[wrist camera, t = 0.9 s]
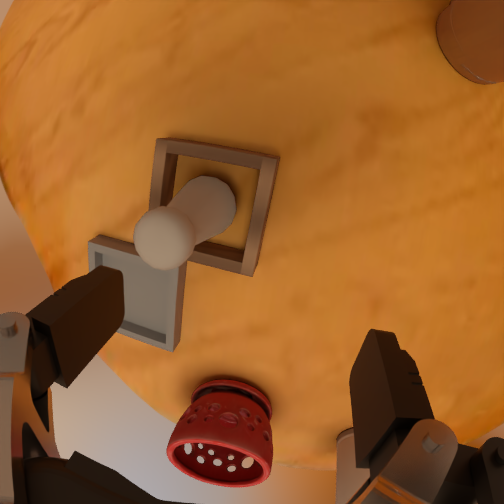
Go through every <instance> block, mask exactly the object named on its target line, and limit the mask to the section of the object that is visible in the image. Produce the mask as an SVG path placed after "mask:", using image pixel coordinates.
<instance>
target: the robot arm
mask: <svg viewBox="0 0 504 504" xmlns="http://www.w3.org/2000/svg"><path fill="white" fill-rule="evenodd" d="M436 31H437V38H438V41H439V44H440V47H441V49H442V51H443V53H444V55H445V56H446V58H447V59H448V61H449V62H450V64H451V65H452V66H453V67H454V68H455V69H456V70H457V71H458V72H459V73H460V74H461V75H463V76H464V77H466V78H467V79H469V80H470V81H473V82H476V83H478V84H484V85H485V84H494V83H499V82H504V0H451V3H450V6H448V7H447V8H446V9H445V10H444V11H443V12H442V13H441V14H440V15H439V18H438V20H437V27H436ZM124 315H125V303H124V278H123V273H122V272H121V271H120V270H117V269H114V268H110V267H107V266H103V265H99V266H98V267H96V268H95V269H94V270H92V271H91V272H89V273H88V274H87V275H84V276H81V277H78V278H76V279H73V280H71V281H69V282H68V283H67V284H65V285H64V286H63V287H62V289H59V290H57V291H56V292H55V293H54V295H50V296H49V297H48V298H47V299H45V300H44V301H43V302H41V303H40V304H39V305H37V306H36V307H35V308H33V309H32V310H31V311H30V312H29V313H27V314H26V315H24V314H22V313H18V312H7V313H3V314H0V504H194V503H181V502H171V501H163V500H159V499H157V498H155V497H153V496H151V495H150V494H148V493H147V492H145V491H144V490H142V489H141V488H139V487H138V486H136V485H135V484H133V483H132V482H131V481H129V480H128V479H126V478H125V477H124V476H122V475H121V474H119V473H118V472H117V471H115V470H113V469H111V468H109V467H107V466H104V465H102V464H100V463H98V462H96V461H94V460H92V459H90V458H88V457H86V456H84V455H82V454H80V453H78V452H77V451H74V453H73V455H72V456H71V457H70V459H69V460H68V459H62V458H60V455H59V452H58V450H57V446H56V443H55V437H54V425H53V410H52V392H51V389H50V386H51V385H52V384H53V382H56V383H58V384H60V385H61V386H63V387H65V388H68V387H69V386H70V384H71V383H72V382H73V381H74V379H75V378H76V377H77V376H78V375H79V374H80V373H81V371H82V370H83V369H84V368H85V367H86V366H87V364H88V363H89V362H90V361H91V360H92V359H93V357H94V356H95V355H96V354H97V353H98V352H99V350H100V349H101V348H102V347H103V346H104V345H105V344H106V342H107V341H108V340H109V339H110V338H111V337H112V336H113V334H114V333H115V332H116V331H117V330H118V329H119V328H120V326H121V324H122V322H123V319H124ZM422 384H423V382H422V379H421V377H420V376H419V371H418V368H417V366H416V363H415V361H414V360H413V359H412V357H411V356H410V355H409V354H408V353H407V352H406V350H401V349H400V347H399V344H398V341H397V338H396V335H395V334H394V333H393V332H388V331H382V330H376V329H371V330H369V332H368V334H367V336H366V338H365V340H364V343H363V345H362V347H361V349H360V352H359V354H358V356H357V358H356V360H355V363H354V365H353V367H352V370H351V374H350V381H349V386H350V395H351V406H352V417H353V429H354V443H355V460H356V468H363V469H370V477H369V478H368V479H367V480H366V481H365V482H364V483H363V484H362V486H361V487H360V488H359V489H358V490H357V491H356V493H355V494H354V495H353V496H352V497H351V498H350V499H349V501H348V502H347V503H346V504H477V503H478V504H504V439H502V438H498V437H493V438H490V439H488V440H487V441H486V442H485V443H484V444H483V445H482V446H481V447H480V448H479V449H478V448H474V447H470V446H466V445H462V444H459V443H458V442H457V438H456V436H455V434H454V432H453V431H452V430H451V429H450V428H449V427H448V426H447V425H446V424H444V423H442V422H440V421H438V420H435V418H434V415H433V412H432V409H431V406H430V403H429V400H428V397H427V394H426V391H425V388H424V386H422Z"/></svg>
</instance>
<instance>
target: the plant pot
mask: <svg viewBox="0 0 504 504" xmlns="http://www.w3.org/2000/svg"><path fill="white" fill-rule="evenodd" d="M271 417H272V408H271V405H270V403H269V401H268V399H267V398H266V397H265V396H264V395H263V394H262V393H261V392H260V391H258V390H257V389H255V388H254V387H252V386H249V385H247V384H245V383H242V382H238V381H233V380H214V381H210V382H207V383H204V384H202V385H201V386H199V387H198V388H197V389H196V390H195V391H194V392H193V394H192V397H191V405H190V406H189V407H188V409H187V410H186V411H185V412H184V414H183V415H182V416H181V418H180V419H179V421H178V423H177V425H176V427H175V429H174V431H173V433H172V435H171V437H170V440H169V443H168V446H167V456H168V458H169V460H170V461H171V463H172V464H173V465H174V466H175V467H176V468H178V469H179V470H180V471H182V472H183V473H185V474H187V475H189V476H190V477H193V478H195V479H197V480H200V481H203V482H206V483H210V484H213V485H218V486H224V487H248V486H253V485H257V484H260V483H262V482H263V481H264V480H266V479H267V478H268V477H269V475H270V472H271V466H272V459H273V444H272V430H271V426H270V423H269V422H270V420H271ZM186 443H191V445H192V451H191V453H190V454H186V453H185V450H184V444H186ZM199 443H201V444H202V445H203V448H202V449H200V448H199V447H198V444H199ZM208 450H213V451H214V455H210V454H208ZM230 455H233V456H234V459H233V460H228V456H230ZM198 456H201V457H203V458H204V463H199V462H198V461H197V457H198ZM246 457H252V458H253V459H254V463H253V464H252V466H251V467H249V468H243V467H242V461H243V460H244V459H245V458H246ZM215 459H219V460H221V461H222V464H221V465H220V466H216V465H214V464H213V461H214V460H215ZM229 466H235V467H236V470H235V471H233V472H229V471H228V470H227V468H228V467H229Z"/></svg>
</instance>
